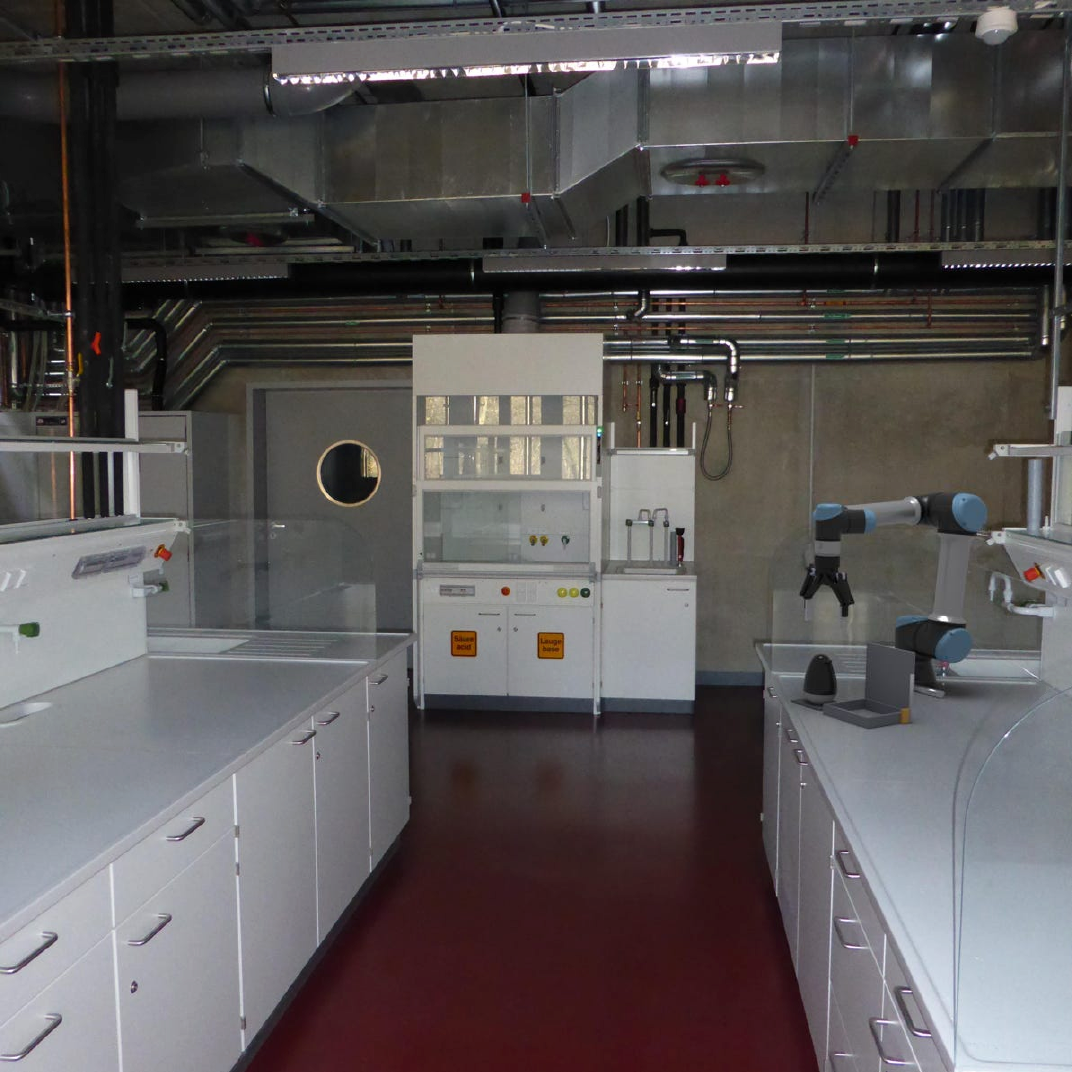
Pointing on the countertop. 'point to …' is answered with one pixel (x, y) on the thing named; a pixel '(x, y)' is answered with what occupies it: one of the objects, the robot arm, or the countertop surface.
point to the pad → (809, 704)
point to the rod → (929, 691)
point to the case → (881, 689)
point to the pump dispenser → (820, 680)
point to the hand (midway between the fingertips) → (825, 623)
